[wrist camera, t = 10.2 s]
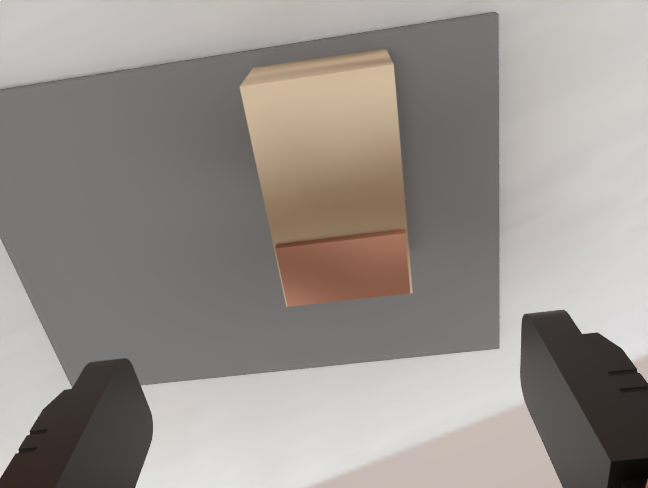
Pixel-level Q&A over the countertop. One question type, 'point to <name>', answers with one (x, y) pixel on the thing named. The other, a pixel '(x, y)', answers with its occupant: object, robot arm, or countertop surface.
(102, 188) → the mat
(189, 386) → the countertop surface
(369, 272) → the beige rectangular block
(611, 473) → the robot arm
